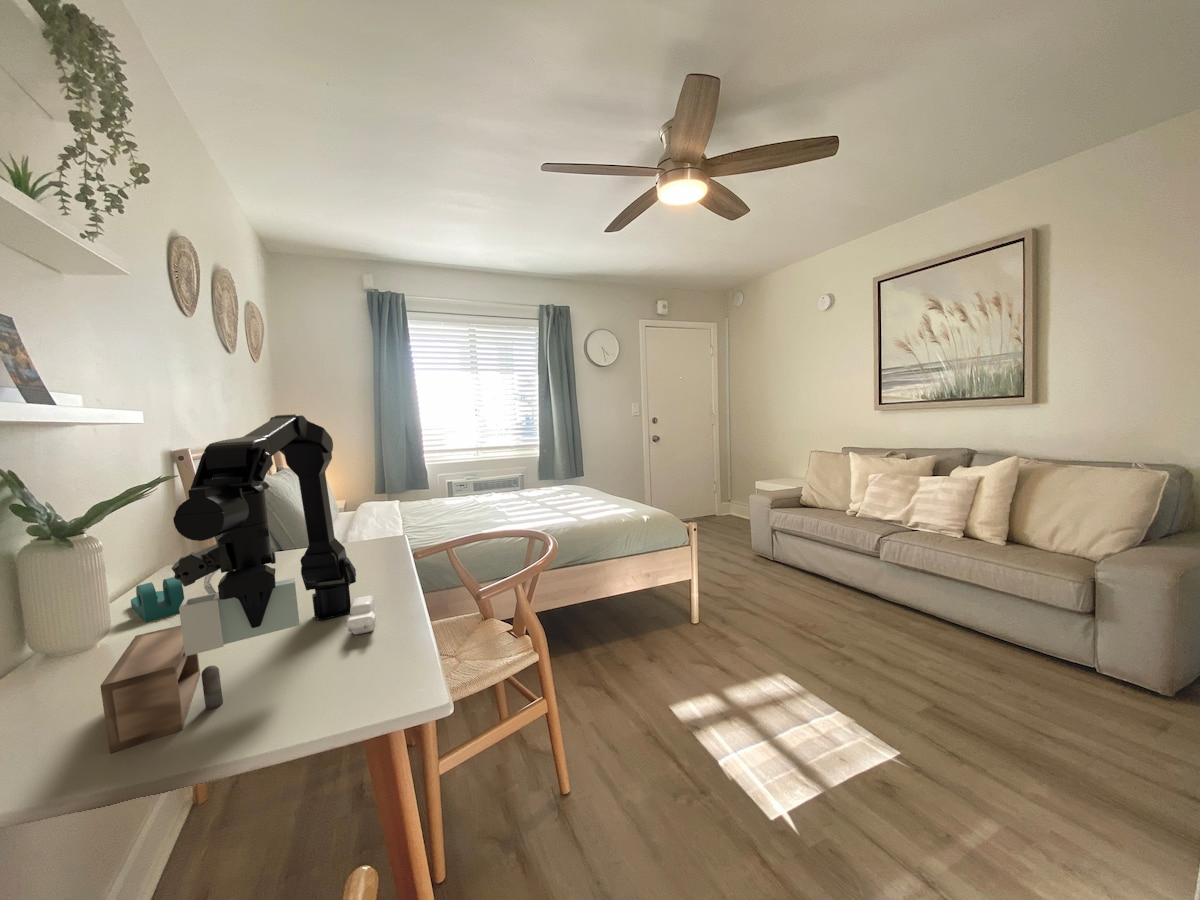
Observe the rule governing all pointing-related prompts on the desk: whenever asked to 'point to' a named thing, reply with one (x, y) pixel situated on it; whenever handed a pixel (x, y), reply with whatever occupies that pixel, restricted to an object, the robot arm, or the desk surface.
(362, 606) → the power adapter
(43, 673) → the desk surface
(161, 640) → the cabinet
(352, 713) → the desk surface
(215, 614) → the grey block with opening
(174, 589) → the bracket
